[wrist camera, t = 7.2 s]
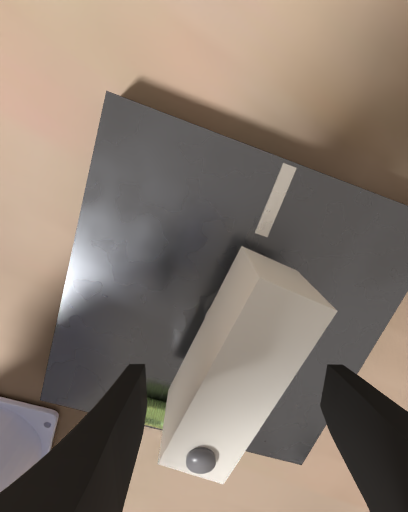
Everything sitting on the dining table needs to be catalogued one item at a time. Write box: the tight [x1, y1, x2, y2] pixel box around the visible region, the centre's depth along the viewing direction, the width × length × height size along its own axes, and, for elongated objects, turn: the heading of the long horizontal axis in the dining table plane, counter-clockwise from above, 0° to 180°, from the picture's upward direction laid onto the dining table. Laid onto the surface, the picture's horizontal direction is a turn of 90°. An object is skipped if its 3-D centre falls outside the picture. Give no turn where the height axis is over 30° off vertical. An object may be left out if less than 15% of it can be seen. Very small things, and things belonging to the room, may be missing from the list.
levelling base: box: [40, 91, 408, 465], centre depth 16 cm, size 18×18×3 cm
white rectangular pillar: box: [158, 246, 337, 484], centre depth 13 cm, size 3×9×6 cm, turn 156°
